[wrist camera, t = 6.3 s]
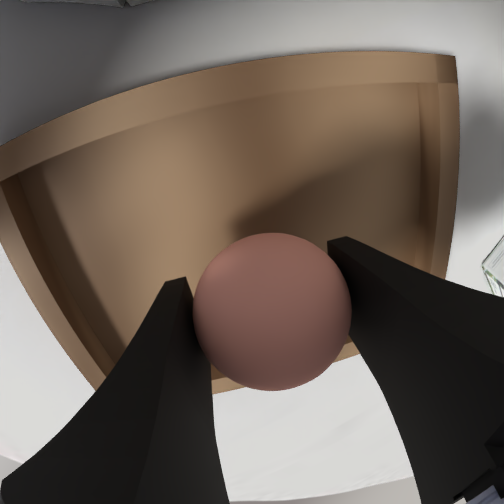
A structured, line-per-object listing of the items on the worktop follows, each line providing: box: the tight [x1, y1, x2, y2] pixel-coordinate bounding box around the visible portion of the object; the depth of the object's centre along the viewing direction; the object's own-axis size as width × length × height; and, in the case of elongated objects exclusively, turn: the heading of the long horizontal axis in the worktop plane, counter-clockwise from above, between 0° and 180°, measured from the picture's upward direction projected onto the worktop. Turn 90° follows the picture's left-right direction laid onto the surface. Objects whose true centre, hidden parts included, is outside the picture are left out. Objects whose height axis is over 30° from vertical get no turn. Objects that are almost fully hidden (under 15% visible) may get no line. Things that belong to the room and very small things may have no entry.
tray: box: [0, 51, 460, 394], centre depth 11 cm, size 16×12×2 cm
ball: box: [192, 233, 352, 391], centre depth 8 cm, size 4×4×4 cm
